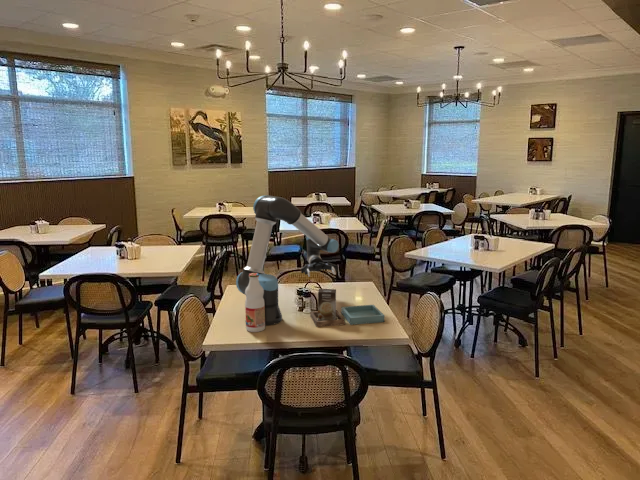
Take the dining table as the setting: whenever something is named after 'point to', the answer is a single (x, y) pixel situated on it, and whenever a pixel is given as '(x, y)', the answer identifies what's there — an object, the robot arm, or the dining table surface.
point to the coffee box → (326, 304)
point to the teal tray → (362, 314)
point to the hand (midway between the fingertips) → (321, 273)
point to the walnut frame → (328, 322)
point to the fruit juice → (254, 305)
